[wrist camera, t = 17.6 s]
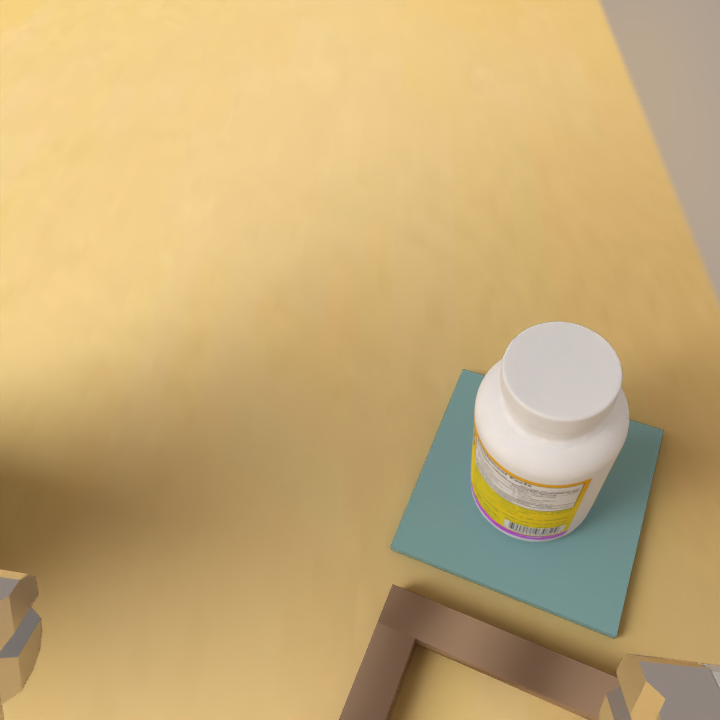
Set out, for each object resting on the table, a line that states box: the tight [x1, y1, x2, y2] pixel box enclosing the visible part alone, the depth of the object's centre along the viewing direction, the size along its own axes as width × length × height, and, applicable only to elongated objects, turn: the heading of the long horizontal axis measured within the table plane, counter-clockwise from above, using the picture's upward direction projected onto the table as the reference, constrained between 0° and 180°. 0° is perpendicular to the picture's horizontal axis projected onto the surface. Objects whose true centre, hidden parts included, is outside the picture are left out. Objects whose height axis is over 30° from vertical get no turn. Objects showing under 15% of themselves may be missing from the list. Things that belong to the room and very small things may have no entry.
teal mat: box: [391, 369, 664, 638], centre depth 38 cm, size 12×12×1 cm
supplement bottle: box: [471, 321, 629, 542], centre depth 32 cm, size 7×7×13 cm
